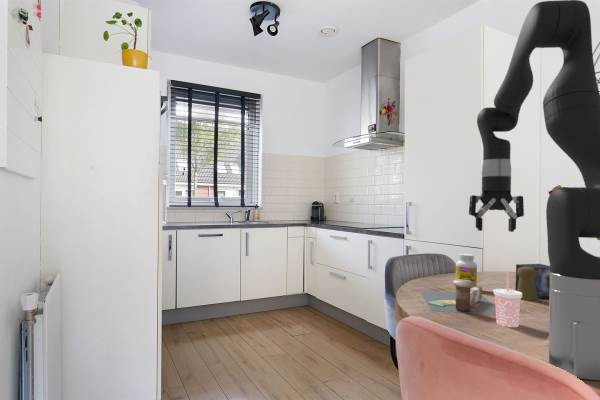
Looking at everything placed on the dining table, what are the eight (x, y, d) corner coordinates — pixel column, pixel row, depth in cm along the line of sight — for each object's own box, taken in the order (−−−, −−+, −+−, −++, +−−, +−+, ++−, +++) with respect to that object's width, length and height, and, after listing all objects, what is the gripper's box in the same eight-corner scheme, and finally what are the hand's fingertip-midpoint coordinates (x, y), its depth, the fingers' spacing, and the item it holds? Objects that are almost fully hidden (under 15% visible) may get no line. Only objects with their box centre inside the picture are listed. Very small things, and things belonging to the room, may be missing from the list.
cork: (541, 306, 109) (542, 269, 109) (519, 304, 110) (520, 268, 110) (533, 300, 115) (533, 266, 115) (512, 299, 116) (512, 265, 116)
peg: (469, 312, 95) (469, 283, 95) (450, 309, 98) (451, 281, 98) (487, 300, 108) (487, 274, 108) (470, 297, 111) (470, 272, 111)
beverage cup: (487, 326, 89) (487, 269, 90) (504, 323, 92) (504, 268, 92) (510, 334, 84) (511, 273, 84) (527, 331, 86) (528, 272, 86)
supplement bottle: (456, 292, 124) (457, 255, 124) (454, 288, 130) (454, 252, 130) (478, 294, 122) (478, 256, 122) (474, 290, 128) (475, 253, 128)
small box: (531, 300, 116) (531, 267, 116) (514, 295, 122) (514, 264, 122) (556, 298, 118) (557, 266, 118) (538, 293, 125) (539, 263, 125)
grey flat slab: (507, 320, 94) (507, 314, 94) (431, 314, 98) (431, 309, 98) (480, 297, 118) (480, 292, 118) (419, 293, 121) (419, 289, 121)
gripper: (473, 174, 104) (472, 231, 104) (528, 174, 101) (527, 233, 101) (466, 176, 111) (466, 229, 111) (517, 176, 108) (517, 230, 108)
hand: (495, 231), depth 106 cm, fingers open, 8 cm apart
